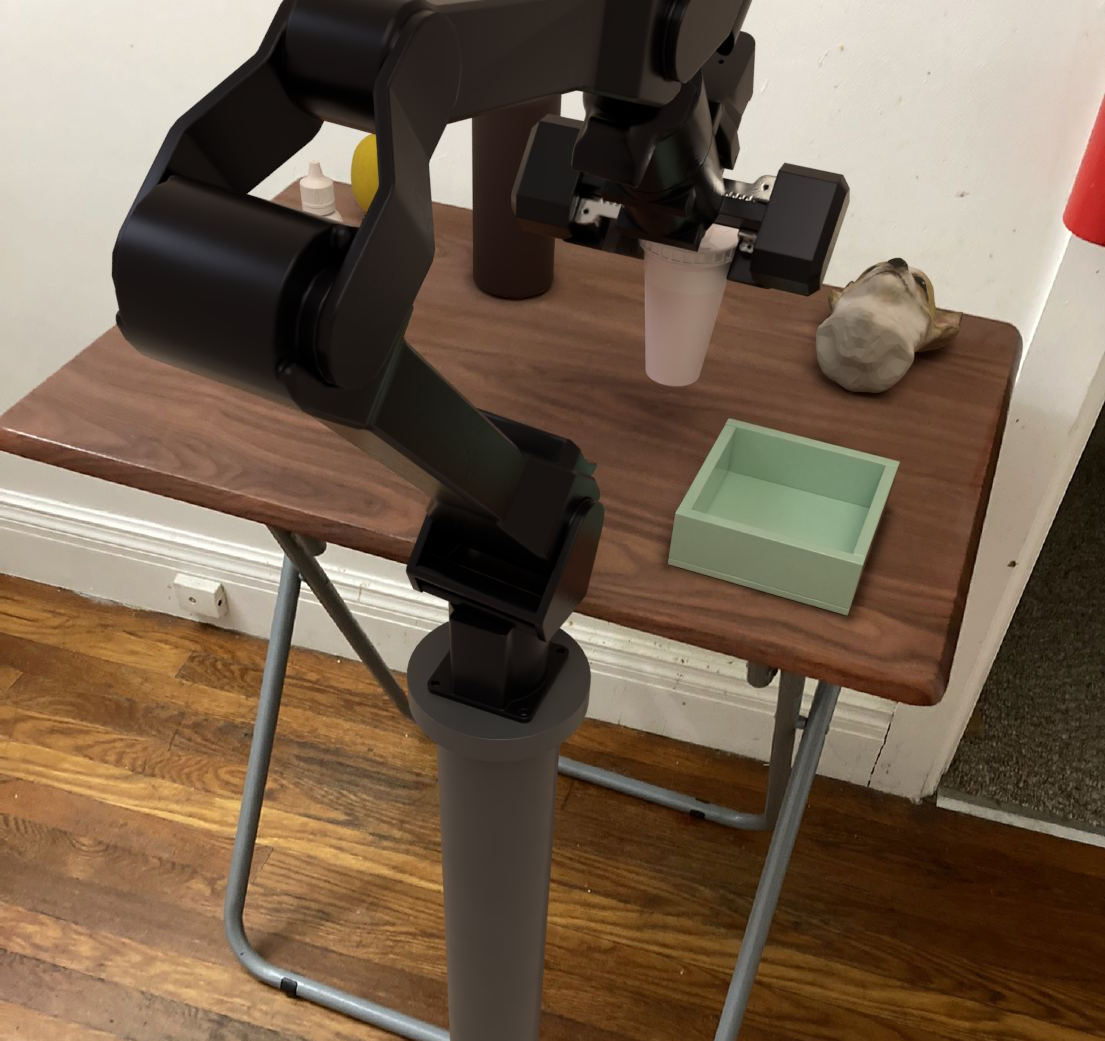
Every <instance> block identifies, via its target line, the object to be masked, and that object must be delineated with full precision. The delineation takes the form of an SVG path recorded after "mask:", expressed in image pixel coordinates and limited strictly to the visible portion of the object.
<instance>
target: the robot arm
mask: <svg viewBox="0 0 1105 1041" xmlns="http://www.w3.org/2000/svg"><path fill="white" fill-rule="evenodd" d="M752 3H753V0H282V1H281V2H280V4H279V6H278V8H277V10H276V12H275V14H274V16H273V18H272V20H271V22H270V24H269V27H268V28H267V30H266V32H265V34H264V36H263V38H262V40H261V42H260V45H259V46H258V48H257V51H255V53H254V54H253V55H252V56H250V57H249V58H248V59H247V60H246V61H245V62H243V63H242V64H241V65H239V67H237V68H236V69H235V70H234V71H232V73H230V74H229V75H228V76H227V77H226V78H224V79H223V80H222V81H221V82H220V83H219V84H217V85H216V86H215V87H214V88H213V89H211V90H209V92H208V93H206V94H205V96H203V97H202V98H200V100H199V101H197V102H195V103H194V104H193V105H192V106H191V107H190V108H189V109H188V110H186V111H185V112H184V113H183V114H182V115H180V116H179V117H178V118H176V120H175V121H174V123H173V124H172V126H170V128H169V129H168V131H167V133H166V135H165V137H164V139H163V142H162V143H161V146H160V147H159V150H158V151H157V153H156V154H155V157H154V159H153V161H152V164H151V166H150V168H149V169H148V171H147V174H146V176H145V178H144V180H143V182H142V184H141V186H140V187H139V189H138V192H137V194H136V196H135V198H134V200H133V202H132V204H131V206H130V207H129V210H128V212H127V214H126V216H125V218H124V220H123V222H122V224H121V226H120V228H119V231H118V233H117V236H116V239H115V242H114V244H113V245H114V246H113V249H112V252H111V279H112V283H113V286H114V293H115V297H116V302H117V308H118V310H117V311H116V314H115V317H114V318H115V324H116V326H117V328H118V330H119V332H120V333H121V335H122V337H123V338H124V340H125V341H126V342H127V343H128V344H129V345H131V346H132V348H133V349H135V350H136V351H137V352H138V353H139V354H140V355H142V356H145V357H147V358H149V359H151V360H154V361H157V362H159V363H162V364H165V365H168V366H171V367H174V368H177V369H179V370H182V371H185V372H188V373H190V374H193V375H196V376H199V377H201V378H204V379H207V380H210V381H212V382H215V383H219V384H221V385H223V386H226V387H229V388H232V389H234V390H237V391H240V392H243V393H245V394H248V395H252V396H254V397H256V398H260V399H262V400H265V401H268V402H271V403H273V404H276V405H279V406H282V407H285V408H287V409H290V410H293V411H296V412H299V413H301V414H304V415H307V416H310V417H312V418H313V419H314V420H316V421H317V422H319V423H320V424H321V425H323V426H325V427H326V428H328V429H329V430H331V431H332V432H334V433H335V434H336V435H338V436H339V437H341V438H342V439H344V440H345V441H347V442H349V443H350V444H351V445H353V446H354V447H356V448H358V449H359V450H360V451H362V452H364V453H365V454H366V455H368V456H369V457H370V458H372V459H374V460H375V461H376V462H378V463H380V464H381V465H383V466H384V467H385V468H387V469H388V470H390V471H391V472H393V473H395V474H396V475H398V476H399V477H400V478H402V479H403V480H405V481H406V482H408V483H409V484H411V485H412V486H414V487H415V488H417V489H418V490H420V491H421V492H422V493H424V494H426V495H427V496H428V497H430V499H429V501H428V505H427V506H426V509H425V511H426V513H425V517H424V519H423V522H422V524H421V527H420V530H419V533H418V535H417V538H416V540H415V542H414V545H413V548H412V551H411V553H410V556H409V558H408V561H407V564H406V567H405V573H406V574H405V575H406V577H407V578H408V581H409V583H410V586H411V588H412V590H414V591H416V592H419V593H421V594H422V593H426V594H428V595H431V596H434V597H436V598H438V599H441V600H443V601H446V602H447V603H448V604H447V606H448V621H449V641H450V650H449V651H448V653H447V654H446V656H445V657H444V659H443V660H442V661H441V663H440V664H439V666H438V667H437V669H436V670H435V672H434V673H433V674H432V676H431V677H430V679H429V680H428V682H427V689H428V691H429V692H430V693H431V694H434V695H437V696H440V697H443V698H446V699H449V700H452V701H455V702H458V703H461V704H464V705H467V706H470V707H473V708H476V709H479V710H482V711H486V712H489V713H492V714H495V715H498V716H501V717H504V718H507V719H510V720H513V721H516V722H519V723H523V724H525V723H529V722H531V721H532V719H533V718H534V716H535V714H536V712H537V711H538V709H539V707H540V706H541V704H542V702H543V700H544V699H545V697H546V695H547V694H548V692H549V690H550V688H551V687H552V685H553V683H554V682H555V680H556V678H557V677H558V675H559V673H560V671H561V670H562V668H563V666H564V665H565V663H566V661H567V659H568V657H569V649H568V648H567V647H565V646H563V645H560V644H556V643H553V642H550V640H551V638H552V637H553V636H554V635H555V633H556V632H557V631H558V630H559V628H561V627H562V626H563V625H564V624H565V622H566V621H567V620H568V619H569V617H570V616H571V615H572V614H573V613H574V612H575V610H576V609H577V608H578V607H579V605H580V604H581V603H582V602H583V600H584V599H585V598H586V596H587V594H588V591H589V587H590V586H589V585H590V581H591V577H592V573H593V569H594V564H595V562H596V556H597V552H598V548H599V544H600V539H601V536H602V532H603V529H604V528H603V527H604V522H605V506H604V504H603V503H602V502H600V499H601V491H600V489H601V488H600V487H599V484H598V482H597V480H596V478H595V477H594V476H593V474H594V473H595V471H596V470H597V467H598V463H597V462H595V461H592V460H589V459H586V458H585V457H584V454H583V452H582V449H581V448H580V447H579V446H578V445H577V444H576V443H575V442H574V441H573V440H572V439H570V438H567V437H564V436H562V435H559V434H555V433H552V432H550V431H547V430H543V429H541V428H538V427H535V426H532V425H529V424H526V423H523V422H520V421H518V420H514V419H511V418H509V417H505V416H502V415H501V414H497V413H494V412H490V411H487V410H485V409H481V408H479V407H476V406H475V405H474V403H472V402H471V401H470V400H469V399H468V398H467V397H466V396H465V395H463V393H462V392H461V391H459V390H458V389H457V388H456V387H455V386H454V385H453V384H452V383H451V382H450V381H449V380H448V379H447V378H446V377H445V376H444V375H442V374H441V372H440V371H439V370H437V369H436V368H435V367H434V366H433V364H431V363H430V362H429V361H428V360H427V359H426V358H425V357H424V356H423V355H422V354H421V353H420V352H419V351H418V350H417V349H415V348H414V346H412V345H411V344H410V343H409V342H408V341H407V339H406V338H405V334H406V331H407V328H408V327H409V323H410V320H411V318H412V314H413V312H414V305H413V304H414V303H415V300H416V298H417V296H418V294H419V292H420V289H421V288H422V285H423V283H424V282H425V279H426V277H427V276H428V273H429V271H430V270H431V269H430V268H431V266H432V264H433V262H434V259H435V253H436V240H435V227H434V214H433V198H432V186H431V185H432V184H431V171H430V170H431V169H430V162H431V159H432V157H433V155H434V153H435V151H436V148H437V147H438V145H439V142H440V140H441V138H442V136H443V134H444V133H445V130H446V128H447V125H451V124H455V123H459V122H462V121H466V120H470V119H472V118H474V117H478V116H482V115H485V114H489V113H493V112H497V111H501V110H505V109H508V108H512V107H516V106H520V105H524V104H528V103H532V102H535V101H539V100H543V99H547V98H551V97H555V96H558V95H567V94H569V93H573V92H581V93H582V105H583V109H584V112H585V116H584V119H583V120H581V119H576V118H570V117H566V116H562V115H561V116H557V115H552V114H547V115H546V116H545V117H544V118H542V119H541V120H540V121H539V122H538V123H537V124H536V125H535V126H534V127H532V130H531V133H530V136H529V139H528V142H527V146H526V149H525V152H524V155H523V158H522V161H521V165H520V168H519V171H518V174H517V177H516V181H515V184H514V187H513V190H512V194H511V208H512V210H513V212H514V214H515V216H516V218H517V220H518V221H519V223H520V225H521V226H522V228H523V230H524V231H528V232H532V233H536V234H541V235H545V236H549V237H554V238H555V239H558V240H562V241H563V242H564V243H565V244H566V243H567V244H571V245H574V246H575V245H576V246H579V247H584V248H588V249H592V250H597V251H600V252H604V253H605V252H606V253H608V254H609V253H610V254H615V255H618V256H623V257H628V258H632V259H635V260H641V261H644V250H643V248H642V247H641V246H640V241H639V239H642V240H646V241H651V242H655V243H659V244H664V245H668V246H672V247H677V248H681V249H686V250H690V251H694V252H698V250H699V247H700V243H701V240H702V238H704V236H705V234H706V231H707V230H708V229H709V228H710V227H711V226H712V224H717V225H721V226H726V227H730V228H734V229H739V231H738V234H737V237H738V240H739V241H738V244H737V247H736V250H735V253H734V256H733V259H732V262H731V265H730V268H729V271H728V274H727V277H726V279H727V280H728V281H729V282H733V283H737V284H742V285H745V286H746V285H747V286H751V287H755V288H759V289H764V290H771V289H773V290H777V291H781V292H785V293H789V294H794V295H799V296H803V297H806V298H808V297H810V296H812V295H813V294H815V293H817V292H819V291H821V289H822V287H823V283H824V281H825V278H826V275H827V271H828V268H829V265H830V262H831V259H832V256H833V253H834V250H835V247H836V244H837V241H838V239H839V236H840V232H841V229H842V227H843V223H844V220H845V217H846V214H847V211H848V208H849V206H850V201H851V200H850V198H851V188H850V186H849V184H848V181H847V180H846V177H845V176H844V174H842V173H837V172H833V171H827V170H823V169H817V168H814V167H808V166H803V165H798V164H793V163H789V162H784V163H782V165H781V166H780V167H779V168H778V171H777V173H776V175H772V174H763V175H760V177H758V178H757V179H756V180H755V181H754V182H752V183H750V182H746V181H740V180H736V179H731V178H727V177H724V173H725V170H729V171H733V170H734V169H735V166H736V163H737V161H738V157H739V154H740V151H741V146H740V139H739V133H738V131H739V129H740V125H741V122H742V120H743V115H744V113H745V111H746V108H747V107H748V104H749V102H751V100H752V97H753V95H754V84H755V65H756V64H755V63H756V45H757V44H756V39H755V37H754V36H753V35H752V34H750V33H749V32H747V31H743V30H742V28H743V25H744V22H745V20H746V17H747V15H748V13H749V10H750V8H751V5H752ZM325 122H326V123H330V124H334V125H337V126H342V127H345V128H349V129H353V130H356V131H360V132H364V133H368V134H375V135H376V147H377V163H378V180H379V186H378V190H377V192H376V194H375V196H374V198H373V200H372V202H371V204H370V206H369V208H368V210H367V213H366V212H365V215H364V217H363V218H362V221H361V223H360V225H359V226H357V225H354V224H350V223H347V222H344V221H343V222H340V221H337V220H333V219H330V218H327V217H323V216H320V215H317V214H313V213H310V212H306V211H303V209H299V208H296V207H292V206H289V205H286V204H283V203H278V202H276V201H274V200H273V201H272V200H270V199H266V198H262V197H259V196H256V195H253V194H249V193H250V192H251V191H253V190H254V189H255V188H256V187H258V186H259V185H260V184H261V183H263V182H264V181H265V180H266V179H268V178H269V177H270V176H271V175H272V174H273V173H275V171H277V170H278V169H279V168H281V167H282V166H283V165H284V164H285V163H287V162H288V161H289V160H290V159H292V158H293V157H294V156H295V155H296V154H298V153H299V152H300V151H301V150H303V148H305V147H306V146H307V145H308V144H309V143H311V142H312V141H313V140H314V138H315V137H316V136H317V135H318V134H319V132H320V131H321V129H322V127H323V125H324V124H325ZM558 653H562V654H558ZM434 685H438V686H437V687H435V686H434ZM521 714H526V715H525V716H524V715H521Z"/></svg>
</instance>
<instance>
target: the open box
mask: <svg viewBox="0 0 1105 1041" xmlns="http://www.w3.org/2000/svg"><path fill="white" fill-rule="evenodd" d="M900 464H901V462H900V461H899V460H895V459H892V458H887V457H884V456H880V455H876V454H872V453H868V452H863V451H861V450H856V449H852V448H848V447H844V446H840V445H836V444H833V443H828V442H824V441H820V440H817V439H813V438H809V437H805V436H801V435H796V434H794V433H790V432H785V431H781V430H777V429H773V428H769V427H766V426H761V425H757V424H754V423H750V422H745V421H743V420H738V419H734V418H728V419H727V420H726V422H725V424H724V425H723V428H722V430H721V431H720V433H719V435H718V436H717V439H716V440H715V442H714V444H713V446H712V447H711V448H710V451H709V452H708V455H707V456H706V458H705V459H704V462H703V463H702V465H701V467H700V469H699V470H698V472H697V474H696V476H695V478H694V479H693V481H692V483H691V485H690V486H689V488H688V489H687V491H686V493H685V495H684V497H683V499H682V500H681V503H680V504H679V506H678V507H677V509H676V510H675V513H674V520H673V526H672V531H671V532H672V533H671V539H670V546H669V552H668V560H667V565H670V566H673V567H676V568H680V569H683V570H687V571H691V572H694V573H698V574H700V575H705V576H707V577H711V578H715V579H718V580H721V581H725V582H729V583H732V584H735V585H739V586H742V587H746V588H749V589H753V590H756V591H759V592H764V593H766V594H770V595H773V596H778V597H781V598H784V599H787V600H791V601H795V602H799V603H800V604H801V603H802V604H805V605H808V606H812V607H816V608H818V609H819V608H820V609H822V610H825V611H830V612H833V613H837V614H840V615H843V616H849V613H850V612H851V611H850V610H851V608H852V605H853V602H854V600H855V596H856V593H857V590H858V589H859V588H858V587H859V585H860V582H861V579H862V577H863V574H864V572H865V568H866V566H867V563H868V559H869V556H870V554H871V551H872V549H873V546H874V543H875V540H876V537H877V534H878V533H879V532H878V531H879V529H880V527H881V526H880V525H881V522H882V520H883V518H884V514H885V512H886V509H887V505H888V502H889V500H890V495H891V493H892V489H893V486H894V483H895V479H896V476H897V474H898V470H899V466H900Z"/></svg>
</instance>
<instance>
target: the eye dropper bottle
mask: <svg viewBox="0 0 1105 1041" xmlns="http://www.w3.org/2000/svg"><path fill="white" fill-rule="evenodd" d="M334 186H335V184H334V180H333V179H332V178H331V177H329V176H327V175H325V174H323V170H322V167H321V164H320V160H319V159H310V160H309V161H308V173H307V176H304V177H302V178H301V179H300V180H299V189H300V200H301V208H302V209H301V210H303V211H306V212H310V213H313V214H317V215H320V216H323V217H327V218H330V219H333V220H337V221H340V222H343V223H344V220H343V217H342V215H341V214H340V212H339V211H338V210H337V209H336V208H337V206H336V198H335V197H336V196H335V189H334V188H335V187H334Z"/></svg>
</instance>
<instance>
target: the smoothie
mask: <svg viewBox="0 0 1105 1041" xmlns="http://www.w3.org/2000/svg"><path fill="white" fill-rule="evenodd" d="M738 231H739V229H734V228H730V227H726V226H721V225H717V224H712V226H711V227H710V228H709V229H708V230H707V231H706V234H705V236H704V238H702V240H701V243H700V247H699V250H698V252H694V251H690V250H686V249H681V248H677V247H672V246H668V245H664V244H659V243H655V242H651V241H646V240H642V239H639V241H640V246H641V247H642V248H643V250H644V260H643V273H644V275H643V276H644V346H645V347H644V349H645V350H644V351H645V354H644V355H645V356H644V358H645V361H644V362H645V363H644V364H645V373H646V376H647V377H649V379H651V380H652V381H654V382H655V383H657V384H661V385H664V386H669V387H685V386H689V385H692V384H693V383H695V382H697V381H698V380H699V378H700V376H701V373H702V369H703V365H704V362H705V359H706V355H707V352H708V349H709V345H710V342H711V340H712V339H711V338H712V335H713V331H714V328H715V324H716V321H717V317H718V315H719V311H720V307H721V304H722V300H723V297H724V294H725V291H726V287H727V285H728V281H729V280H727V279H726V277H727V274H728V271H729V268H730V265H731V262H732V259H733V256H734V253H735V250H736V247H737V244H738V241H739V240H738V237H737V234H738Z"/></svg>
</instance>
